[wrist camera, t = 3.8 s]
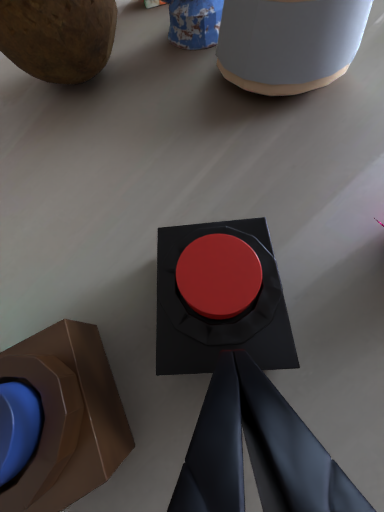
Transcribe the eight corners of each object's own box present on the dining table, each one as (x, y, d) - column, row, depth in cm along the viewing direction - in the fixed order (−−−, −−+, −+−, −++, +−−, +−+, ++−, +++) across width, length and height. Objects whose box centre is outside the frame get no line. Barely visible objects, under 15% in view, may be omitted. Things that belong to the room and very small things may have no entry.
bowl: (8, 108, 36) (-118, -39, 22) (59, 47, 43) (-13, -94, 29) (108, 114, 33) (32, -54, 19) (146, 47, 39) (111, -112, 26)
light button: (262, 317, 13) (270, 311, 11) (182, 322, 13) (176, 318, 12) (249, 244, 15) (254, 229, 13) (179, 250, 15) (174, 237, 14)
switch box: (279, 363, 17) (312, 371, 11) (169, 369, 18) (147, 379, 12) (255, 242, 22) (271, 203, 16) (168, 250, 22) (151, 215, 16)
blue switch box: (135, 446, 16) (89, 503, 10) (34, 509, 15) (-81, 612, 9) (96, 324, 20) (46, 314, 14) (14, 369, 19) (-76, 379, 13)
